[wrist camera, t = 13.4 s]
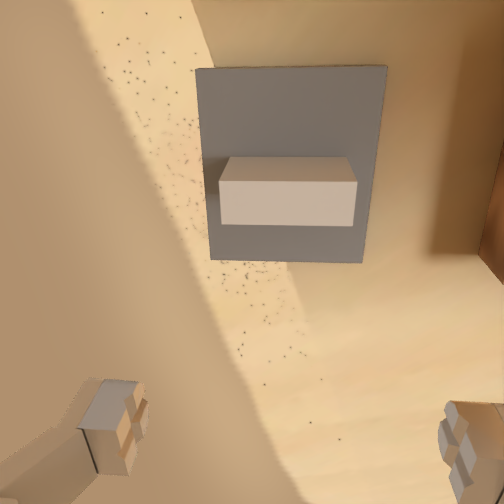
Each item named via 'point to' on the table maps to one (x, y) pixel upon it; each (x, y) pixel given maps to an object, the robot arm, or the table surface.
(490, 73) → the table surface
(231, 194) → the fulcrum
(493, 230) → the beam
